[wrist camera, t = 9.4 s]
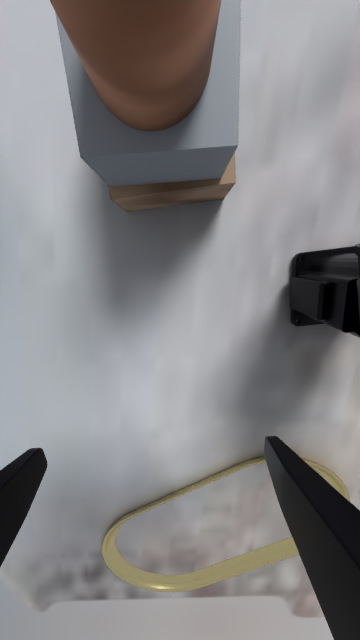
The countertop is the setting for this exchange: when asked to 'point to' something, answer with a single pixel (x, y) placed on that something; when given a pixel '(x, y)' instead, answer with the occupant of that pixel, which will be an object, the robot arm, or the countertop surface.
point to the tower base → (173, 191)
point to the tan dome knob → (144, 54)
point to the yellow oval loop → (215, 571)
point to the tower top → (169, 144)
